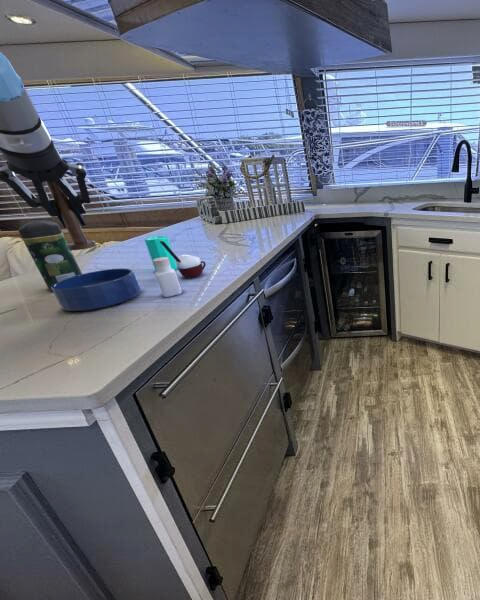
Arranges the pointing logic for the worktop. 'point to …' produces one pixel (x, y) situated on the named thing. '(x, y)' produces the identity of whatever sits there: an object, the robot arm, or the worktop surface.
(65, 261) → the coffee jar
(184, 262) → the cocoa
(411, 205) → the worktop surface
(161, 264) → the salt shaker
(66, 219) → the brown wooden pestle
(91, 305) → the bowl
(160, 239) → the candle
